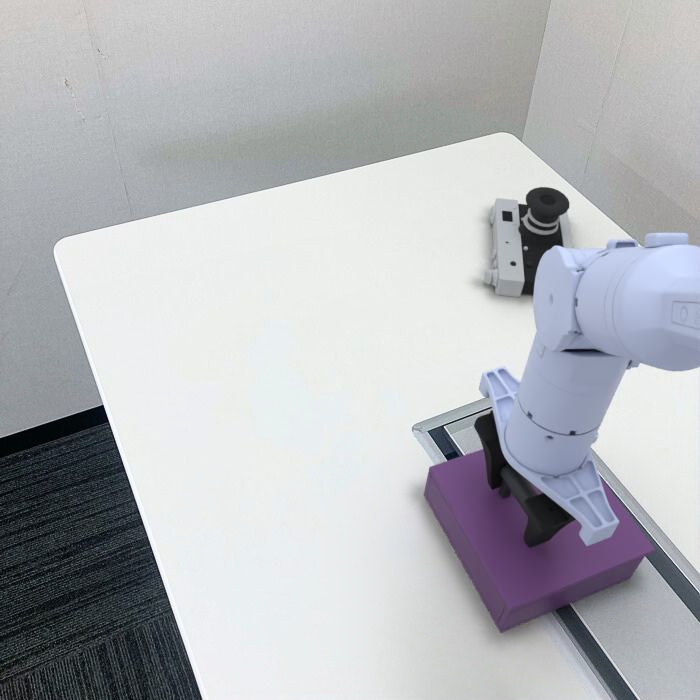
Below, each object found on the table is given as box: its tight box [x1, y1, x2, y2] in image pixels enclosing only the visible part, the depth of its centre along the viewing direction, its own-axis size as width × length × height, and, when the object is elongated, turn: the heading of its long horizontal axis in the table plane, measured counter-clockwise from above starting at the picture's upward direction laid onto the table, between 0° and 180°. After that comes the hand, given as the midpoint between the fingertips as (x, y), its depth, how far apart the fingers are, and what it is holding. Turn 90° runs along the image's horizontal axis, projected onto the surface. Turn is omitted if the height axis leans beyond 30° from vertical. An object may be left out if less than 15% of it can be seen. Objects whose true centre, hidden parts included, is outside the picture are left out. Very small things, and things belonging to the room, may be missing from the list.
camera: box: [483, 186, 574, 298], centre depth 87 cm, size 15×7×10 cm
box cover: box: [428, 448, 656, 612], centre depth 59 cm, size 13×13×4 cm
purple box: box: [423, 471, 645, 633], centre depth 62 cm, size 12×13×4 cm
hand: (518, 511), depth 59 cm, fingers closed on box cover, 5 cm apart
